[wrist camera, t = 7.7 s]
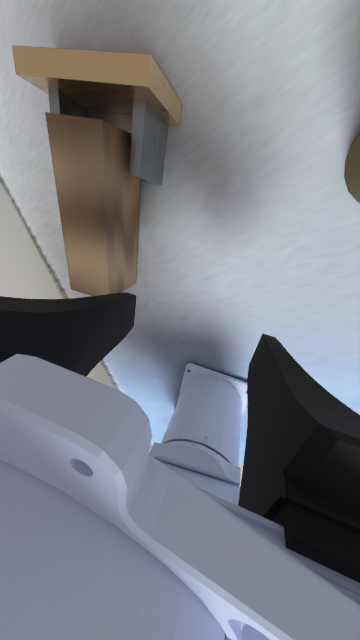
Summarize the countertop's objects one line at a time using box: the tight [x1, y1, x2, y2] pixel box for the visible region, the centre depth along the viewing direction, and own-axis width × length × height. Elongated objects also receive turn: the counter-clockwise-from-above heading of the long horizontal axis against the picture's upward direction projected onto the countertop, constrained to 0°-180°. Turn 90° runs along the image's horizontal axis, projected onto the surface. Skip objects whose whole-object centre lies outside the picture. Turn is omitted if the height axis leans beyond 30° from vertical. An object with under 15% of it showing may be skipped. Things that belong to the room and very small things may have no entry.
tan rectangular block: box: [45, 112, 140, 296], centre depth 18 cm, size 12×4×5 cm, turn 170°
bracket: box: [12, 45, 182, 185], centre depth 15 cm, size 5×9×6 cm, turn 80°
